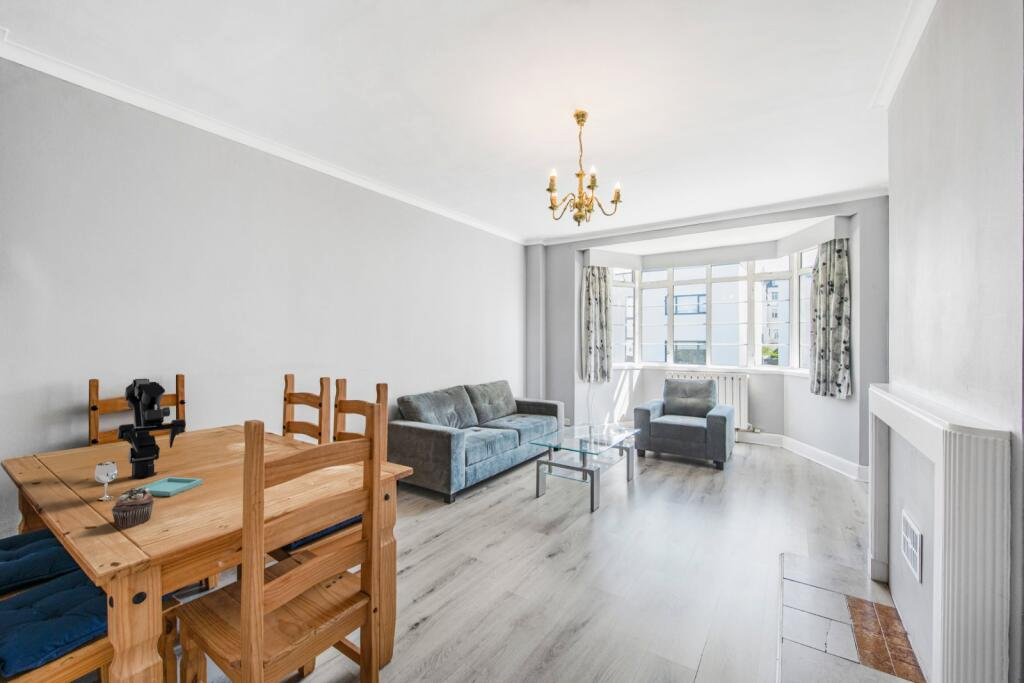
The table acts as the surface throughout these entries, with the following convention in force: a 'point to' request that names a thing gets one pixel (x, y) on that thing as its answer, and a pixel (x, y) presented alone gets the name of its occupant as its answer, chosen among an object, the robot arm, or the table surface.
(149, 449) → the robot arm
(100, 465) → the wineglass
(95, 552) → the table surface
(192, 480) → the tray
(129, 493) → the cupcake
